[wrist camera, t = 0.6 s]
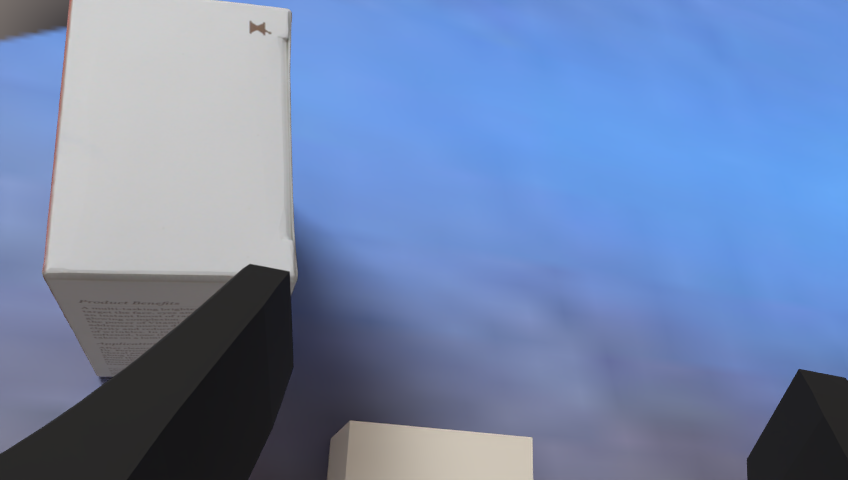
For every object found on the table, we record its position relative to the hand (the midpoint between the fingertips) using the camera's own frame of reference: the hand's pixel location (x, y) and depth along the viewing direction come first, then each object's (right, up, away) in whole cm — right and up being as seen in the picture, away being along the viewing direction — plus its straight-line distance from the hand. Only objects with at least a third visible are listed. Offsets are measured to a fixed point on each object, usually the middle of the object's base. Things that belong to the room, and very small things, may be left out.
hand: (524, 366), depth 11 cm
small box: (-10, +1, +17) cm, 20 cm away
